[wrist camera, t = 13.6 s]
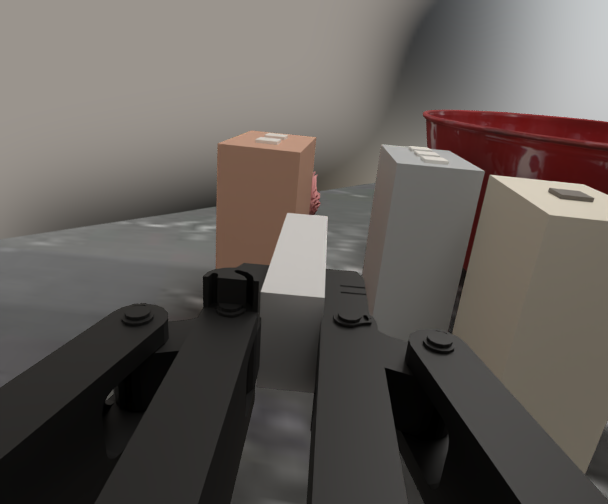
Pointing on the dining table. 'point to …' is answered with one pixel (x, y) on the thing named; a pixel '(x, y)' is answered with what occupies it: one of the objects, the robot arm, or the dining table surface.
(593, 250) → the cream block
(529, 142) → the mixing bowl
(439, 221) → the grey block
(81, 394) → the robot arm
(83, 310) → the dining table surface
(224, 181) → the terracotta block
